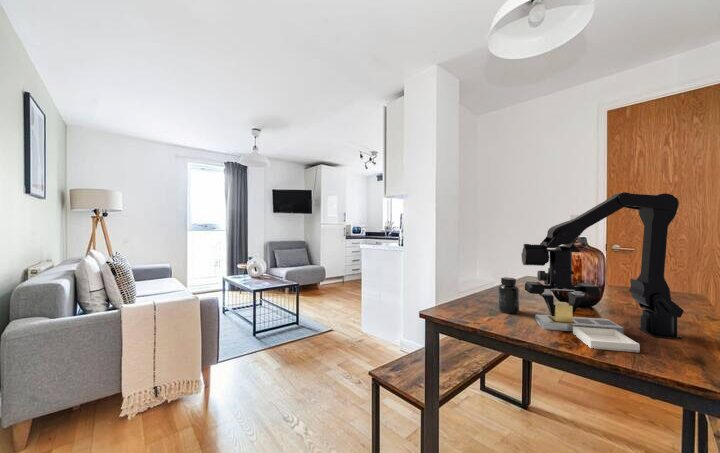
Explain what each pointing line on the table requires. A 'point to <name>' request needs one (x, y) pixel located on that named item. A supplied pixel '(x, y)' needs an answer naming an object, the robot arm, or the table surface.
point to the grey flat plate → (577, 323)
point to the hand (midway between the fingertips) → (561, 316)
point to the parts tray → (606, 339)
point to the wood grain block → (562, 312)
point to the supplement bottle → (508, 296)
